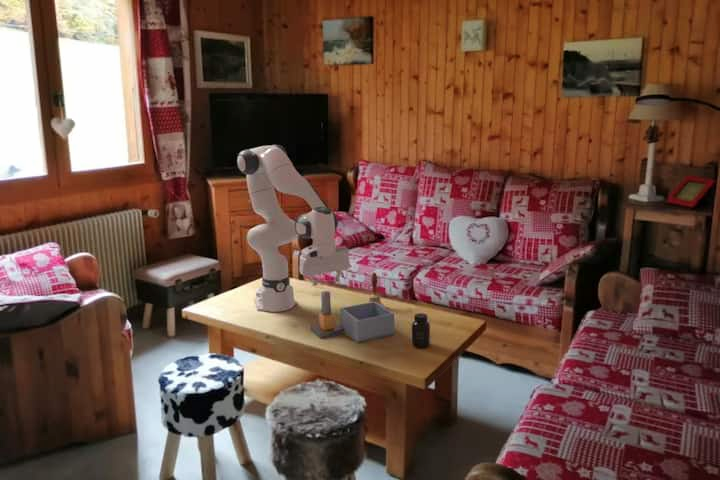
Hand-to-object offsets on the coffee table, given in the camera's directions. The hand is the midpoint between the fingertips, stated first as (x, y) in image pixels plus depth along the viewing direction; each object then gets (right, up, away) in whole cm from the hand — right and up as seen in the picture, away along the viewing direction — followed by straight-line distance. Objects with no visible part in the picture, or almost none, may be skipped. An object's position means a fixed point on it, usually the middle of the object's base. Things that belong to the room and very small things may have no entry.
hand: (325, 283), depth 231 cm
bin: (+16, -20, +4) cm, 26 cm away
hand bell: (+20, -13, +31) cm, 39 cm away
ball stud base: (0, -20, +5) cm, 21 cm away
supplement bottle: (+36, -23, -9) cm, 44 cm away
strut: (0, -18, +5) cm, 19 cm away
